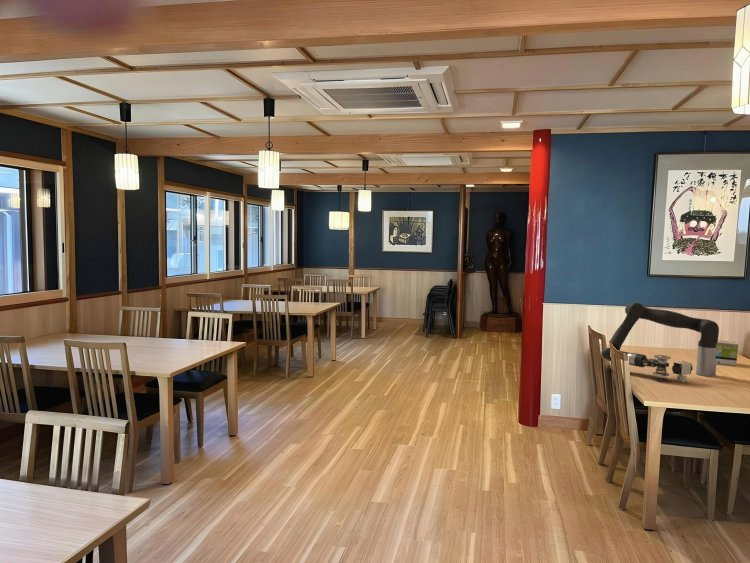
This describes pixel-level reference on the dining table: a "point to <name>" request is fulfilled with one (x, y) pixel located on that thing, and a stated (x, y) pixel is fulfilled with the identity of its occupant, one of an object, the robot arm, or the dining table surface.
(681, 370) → the pneumatic valve
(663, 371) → the grey column pedestal
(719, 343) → the tea box
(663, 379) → the pad
